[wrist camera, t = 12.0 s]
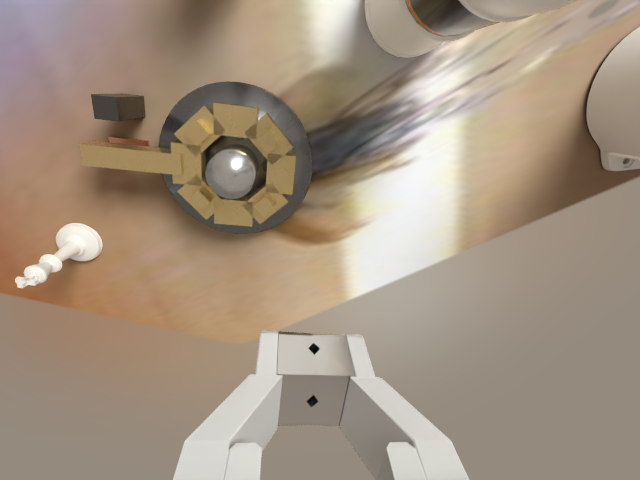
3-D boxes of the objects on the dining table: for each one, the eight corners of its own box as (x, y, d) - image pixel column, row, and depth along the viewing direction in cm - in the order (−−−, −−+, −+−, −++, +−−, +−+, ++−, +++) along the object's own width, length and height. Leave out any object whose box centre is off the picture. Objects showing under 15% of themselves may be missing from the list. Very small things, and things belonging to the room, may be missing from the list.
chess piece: (57, 219, 39) (-14, 258, 29) (102, 227, 39) (47, 268, 30) (59, 255, 40) (-7, 302, 31) (102, 262, 41) (50, 310, 32)
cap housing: (318, 93, 35) (326, 93, 28) (303, 229, 42) (306, 258, 34) (99, 63, 32) (45, 56, 25) (120, 214, 39) (81, 242, 32)
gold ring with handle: (299, 112, 33) (300, 114, 30) (289, 222, 38) (289, 234, 35) (84, 84, 30) (63, 84, 27) (103, 207, 35) (86, 217, 32)
